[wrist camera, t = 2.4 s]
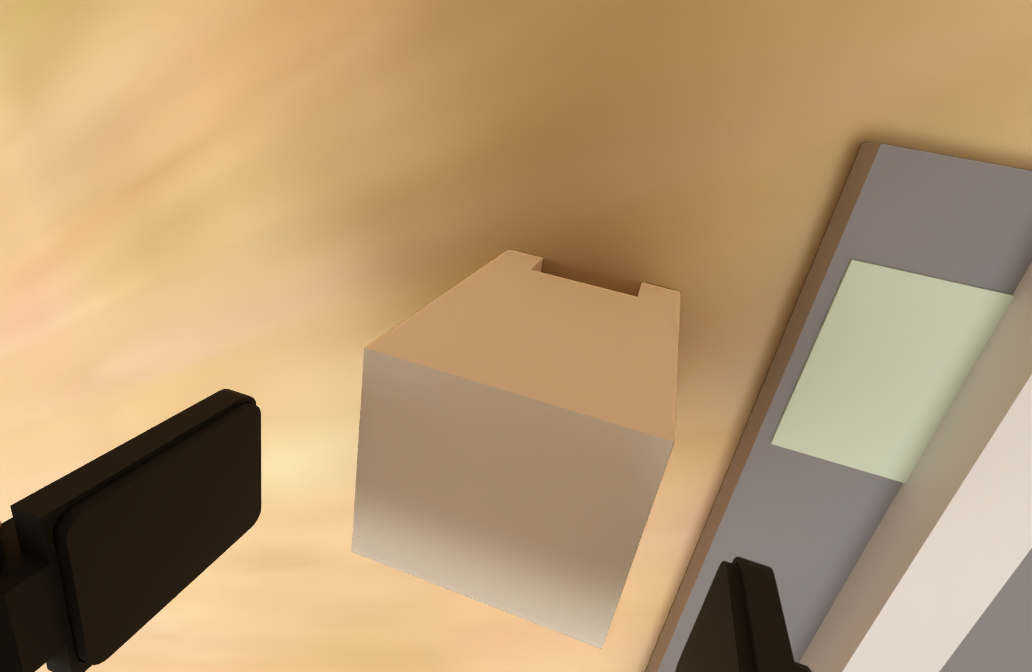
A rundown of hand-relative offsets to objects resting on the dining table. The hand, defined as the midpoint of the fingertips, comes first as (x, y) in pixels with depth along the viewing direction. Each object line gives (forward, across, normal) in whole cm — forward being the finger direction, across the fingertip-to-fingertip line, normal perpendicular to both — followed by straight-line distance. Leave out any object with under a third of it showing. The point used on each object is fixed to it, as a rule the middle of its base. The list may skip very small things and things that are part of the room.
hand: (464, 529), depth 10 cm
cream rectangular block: (+9, 0, -1) cm, 9 cm away
